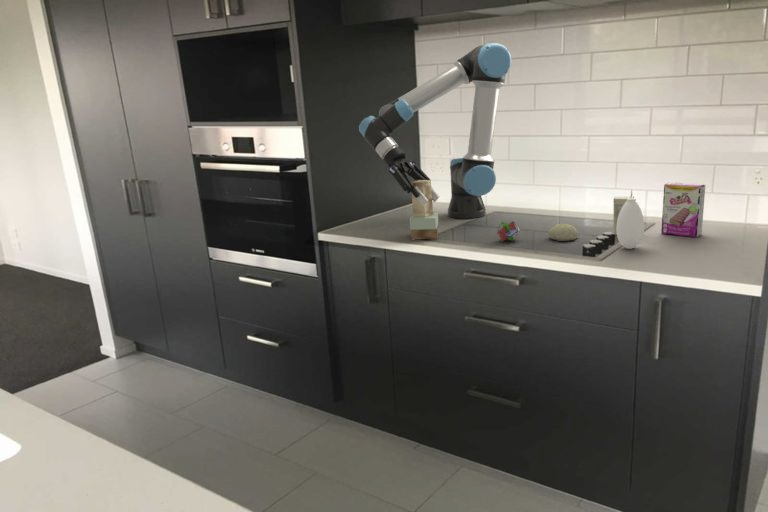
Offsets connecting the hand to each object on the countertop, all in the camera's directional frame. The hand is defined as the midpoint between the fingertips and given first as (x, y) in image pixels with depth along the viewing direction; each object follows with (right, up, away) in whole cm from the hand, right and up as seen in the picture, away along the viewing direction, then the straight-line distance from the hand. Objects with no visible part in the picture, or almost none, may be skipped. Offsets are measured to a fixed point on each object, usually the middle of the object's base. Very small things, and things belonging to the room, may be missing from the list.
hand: (431, 201), depth 216 cm
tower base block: (-2, -12, +6) cm, 14 cm away
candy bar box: (+79, -12, -15) cm, 82 cm away
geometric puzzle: (+25, -14, -8) cm, 30 cm away
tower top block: (-2, -9, +5) cm, 10 cm away
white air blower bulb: (+58, -17, -26) cm, 66 cm away
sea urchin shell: (+43, -14, -10) cm, 46 cm away
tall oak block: (-2, -5, +4) cm, 6 cm away
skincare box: (+63, -12, -9) cm, 65 cm away
